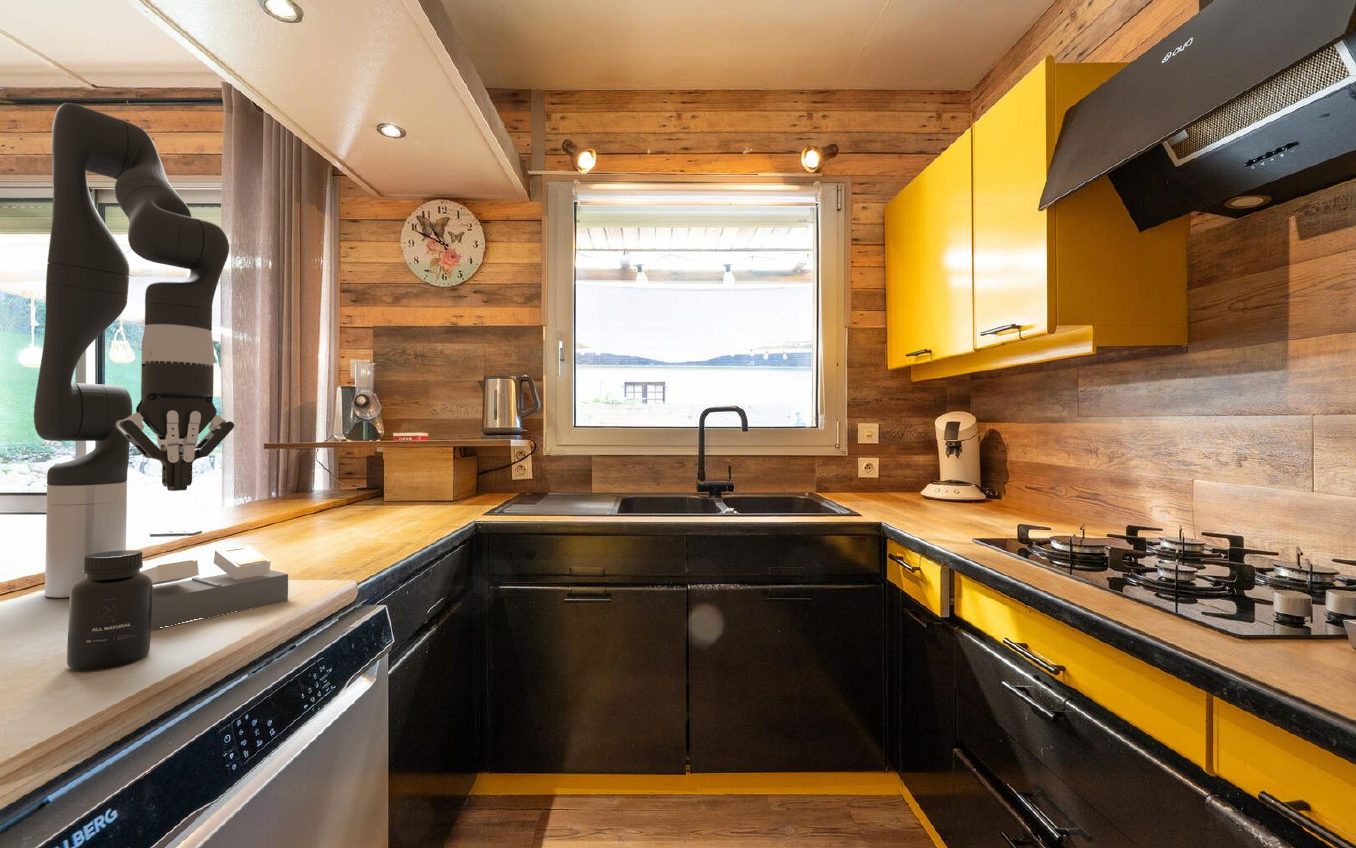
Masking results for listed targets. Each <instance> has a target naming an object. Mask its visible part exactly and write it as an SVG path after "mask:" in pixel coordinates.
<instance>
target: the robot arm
mask: <svg viewBox="0 0 1356 848" xmlns="http://www.w3.org/2000/svg"><path fill="white" fill-rule="evenodd" d="M51 129H52V130H51V164H52V165H51V167H52V169H51V171H52V174H51V175H52V214H51V215H52V216H51V226H50V227H51V228H50V237H49V238H50V239H49V246H48V253H47V264H46V266H47V267H46V278H45V279H46V280H45V315H44V316H45V317H44V318H45V322H44V323H45V324H44V325H45V326H44V335H43V337H44V338H43V346H42V353H41V359H40V366H39V373H38V378H37V379H38V380H37V384H36V385H37V386H36V391H35V399H34V407H33V410H34V411H33V423H34V429H35V431H36V433H37V435H38V437H40V438H41V439H43V440H45V441H49V442H50V441H51V442H93V441H94V442H97V443H96V447H95V448H94V449H93V450H92V451H91V452H89V453H87V454H85V455H83V456H80V457H79V458H76V459H75V458H74V459H73V460H69V461H65V462H62V463H58V464H55V465H52V466H51V467H49V469H48V470H47V475H46V484H47V485H46V518H45V519H46V522H45V525H46V527H45V570H44V572H45V573H44V581H45V582H44V596H45V597H47V598H70V591H71V589H72V588H73V586H74V585H75V584H76V583H78V582H79V581H81V580H83V579H84V578H86V574H84V573H83V568H84V558H85V556H87V555H90V554H95V553H101V552H109V551H121V550H127V511H128V508H127V507H128V502H127V501H128V499H127V498H128V495H127V493H128V490H127V489H128V468H129V461H130V446H131V445H133V446H134V448H136V449H137V450H138V451H139V453H140V454H141V455H143V456H144V457H145V458H146V459H153V460H157V461H159V462H160V463H161V468H162V469H161V483H162V485H163V487H166V489H167V491H168V492H169V491H170V492H177V491H186V490H187V489H188V487H189V486H192V485H191V484H193V464H194V462H195V461H196V460H198V459H201V458H206V457H209V455H210V454H211V453H212V452H213V451H214V450H215V449H216V448H217V447H218V446H219V444H220V443H221V442H222V441H223V440H224V439H225V438H226V437H227V436H228V435H229V434H230V433H231V431H233V429H234V428H235V424H234V422H233V421H227V420H226V419H224V418H222V417H221V416H219V415H218V414H217V411H218V410H217V408H216V406H215V405H214V401H213V399H214V377H215V376H214V375H215V374H214V369H215V368H214V367H215V365H214V364H215V361H216V360H215V352H214V351H215V348H214V347H215V346H214V339H213V331H212V330H213V329H212V328H213V303H214V297H215V294H216V290H217V286H218V284H219V280H220V277H221V275H222V272H223V269H224V267H225V265H226V262H227V260H228V257H229V253H230V243H229V240H228V237H227V235H226V233H225V232H224V230H223V229H222V228H221V227H220V226H219V225H217V224H216V223H214V222H211V221H208V220H205V219H200V218H197V217H196V218H195V217H193V216H192V212H191V210H190V208H189V205H188V204H187V203H186V202H185V201H184V199H183V198H182V197H181V196H180V195H179V193H178V192H177V191H176V190H175V188H174V187H173V186H172V185H171V183H170V181H169V179H168V176H167V173H166V171H165V169H164V168H165V167H164V165H163V162H162V160H161V157H160V155H159V152H158V150H157V147H156V145H155V143H154V141H153V139H152V138H151V136H150V135H149V134H148V132H147V131H145V129H143V128H142V127H140V126H139V125H136V124H134V123H132V122H129V121H127V120H125V119H121V118H118V117H115V116H112V115H110V114H107V113H103V112H101V111H98V110H94V109H92V108H89V107H86V106H84V105H80V104H78V103H74V102H73V103H72V102H64V103H62V104H61V105H60V106H58V108H57V109H56V111H55V115H54V117H53V121H52V128H51ZM87 172H89V173H93V174H96V175H100V176H103V177H107V178H110V179H114V180H116V181H115V182H114V189H113V191H114V196H115V199H116V201H117V203H118V206H120V209H121V210H122V211H123V213H124V214H125V216H126V218H128V221H129V222H128V223H129V226H128V230H127V233H128V234H127V239H128V240H127V241H128V243H129V244H128V245H129V247H130V249H131V250H132V251H133V252H134V253H135V254H136V255H138V256H139V257H140V258H142V259H143V260H146V261H148V262H151V263H156V264H161V265H166V266H171V267H175V268H182V269H185V270H186V269H187V270H190V272H189V276H188V278H187V279H186V280H185V281H156V282H153V283H150V284H149V285H147V287H146V289H145V293H144V294H145V295H144V297H145V298H144V329H143V335H142V341H141V372H140V373H141V378H140V380H141V382H140V386H141V387H140V396H141V398H140V401H139V403H138V404H137V406H136V408H135V412H134V413H133V401H132V396H131V395H130V393H129V390H127V388H125V387H123V386H121V385H117V384H116V385H115V384H102V383H101V384H100V383H99V384H98V383H84V382H80V383H79V382H72V379H73V376H74V372H75V370H76V367H77V365H78V362H79V361H80V359H81V358H82V355H83V354H84V353H85V351H86V350H87V349H88V348H89V347H90V345H91V344H92V343H93V342H94V341H95V340H96V339H97V338H98V337H99V336H100V335H101V334H102V333H104V331H106V330H107V329H108V328H109V327H110V326H111V325H112V324H113V323H114V322H115V321H116V320H118V318H119V317H120V315H121V314H122V313H123V311H124V310H125V308H126V306H127V303H128V298H129V297H128V294H129V283H130V277H129V276H130V264H129V261H128V259H127V256H126V254H125V252H124V251H123V249H122V248H121V246H120V244H119V243H118V241H117V240H116V238H115V237H114V235H113V234H112V232H111V231H110V229H109V227H108V226H107V224H105V221H104V220H103V219H102V217H101V216H100V214H99V211H98V210H97V207H96V206H95V204H94V202H93V199H92V196H91V192H90V188H89V183H88V176H87ZM143 422H144V423H143ZM144 424H145V425H146V426H147V427H148V428H149V429H150V430H151V432H152V433H153V434H155V435H156V439H157V440H156V441H157V445H158V446H157V445H156V444H155V443H154V442H153V440H152V439H150V438H149V436H148V435H146V434H145V432H143V431H144V429H145V425H144ZM207 426H208V430H209V432H207V434H206V435H205V436H204V437H203V438H202V439H201V440H200V442H199V441H198V440H199V439H198V438H199V435H200V434H201V433H202V432H203V431H204V429H206V428H207ZM130 443H131V445H130Z"/></svg>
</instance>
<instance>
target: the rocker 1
mask: <svg viewBox="0 0 1356 848" xmlns="http://www.w3.org/2000/svg"><path fill="white" fill-rule="evenodd" d="M140 573H143V574H145V575H147V576H149V577H150V578H151V580H152V582H153V586H157V585H163V584H169V583H175V582H180V581H183V580H185V579H189V578H194V577H196V576H197V577H198V576H199V573H200V572H199V563H198V560H197V559H196V560H193V559H191V560H186V561H177V562H171V563H165V564H158V565H156V566H155V567H151V568H148V569H144V570H141V571H140Z"/></svg>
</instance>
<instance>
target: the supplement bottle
mask: <svg viewBox="0 0 1356 848" xmlns="http://www.w3.org/2000/svg"><path fill="white" fill-rule="evenodd" d="M143 564H144V563H143V551H141V550H136V549H134V550H133V549H128V550H127V549H126V550H121V551H109V552H101V553H95V554H90V555H87V556H85V558H84V568H83V573H84V574H86V578H84V579H83V580H81V581H79V582H78V583H76V584H75V585H74V586H73V588H72V589H71V591H70V597H69V604H68V605H69V606H68V628H67V630H68V631H67V647H66V648H67V649H66V651H67V652H66V655H67V656H66V664H67V667H68V668H69V669H71V670H72V671H77V672H95V671H104V670H108V669H113V668H119V667H123V666H127V665H130V663H131V664H133V663H136V662H138V661H140V660H143V659H144V658H145V657H147V656H148V655H149V653H150V650H151V638H152V635H151V634H152V631H151V617H152V593H153V587H154V585H153V582H152V580H151V578H150V577H149V576H147V575H145V574H143V573H140V572H141V571H140V569H142V568H143V567H144V566H143Z"/></svg>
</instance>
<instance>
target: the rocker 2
mask: <svg viewBox="0 0 1356 848" xmlns="http://www.w3.org/2000/svg"><path fill="white" fill-rule="evenodd" d="M213 563H214V565H215V566H217V567H218V568H219V569H221V570H222V571H223V572H224V573H225V574H228V575H230V576H231V577H232V578H233V579H235V580H238V579H244V578H249V577H255V576H260V575H266V574H269V570H271V569H270V568H271V560H269V558H267V557H265V556H264V555H263V554H262V553H260V552H258V551H257V550H256V549H254V548H253V547H251V546H250V545H248V544H247V545H242V546H236V547H228V548H221V549H220V548H219V549H216V550H215V551H214V557H213Z"/></svg>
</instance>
